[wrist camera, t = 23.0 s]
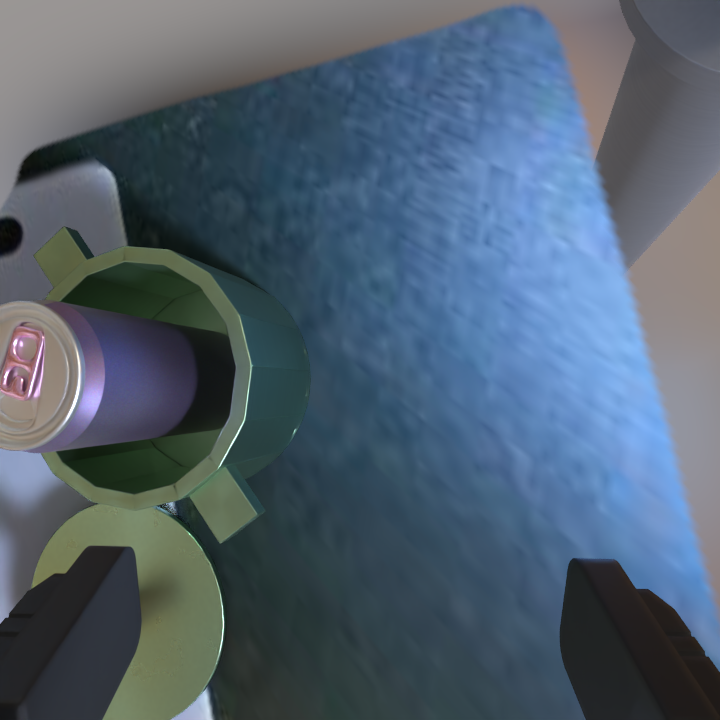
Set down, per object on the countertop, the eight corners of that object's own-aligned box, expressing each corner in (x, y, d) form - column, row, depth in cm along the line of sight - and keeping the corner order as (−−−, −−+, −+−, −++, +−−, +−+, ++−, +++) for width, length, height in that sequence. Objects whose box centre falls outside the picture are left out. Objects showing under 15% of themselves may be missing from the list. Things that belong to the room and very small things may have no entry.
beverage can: (268, 345, 36) (101, 316, 22) (243, 442, 36) (60, 476, 22) (181, 321, 38) (-28, 279, 23) (158, 414, 38) (-66, 430, 23)
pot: (209, 204, 38) (124, 153, 30) (379, 436, 35) (337, 450, 27) (71, 330, 40) (-44, 315, 32) (219, 560, 37) (133, 609, 29)
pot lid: (153, 454, 38) (86, 466, 33) (274, 643, 36) (226, 693, 30) (8, 575, 41) (-78, 606, 35) (112, 760, 38) (38, 828, 32)
